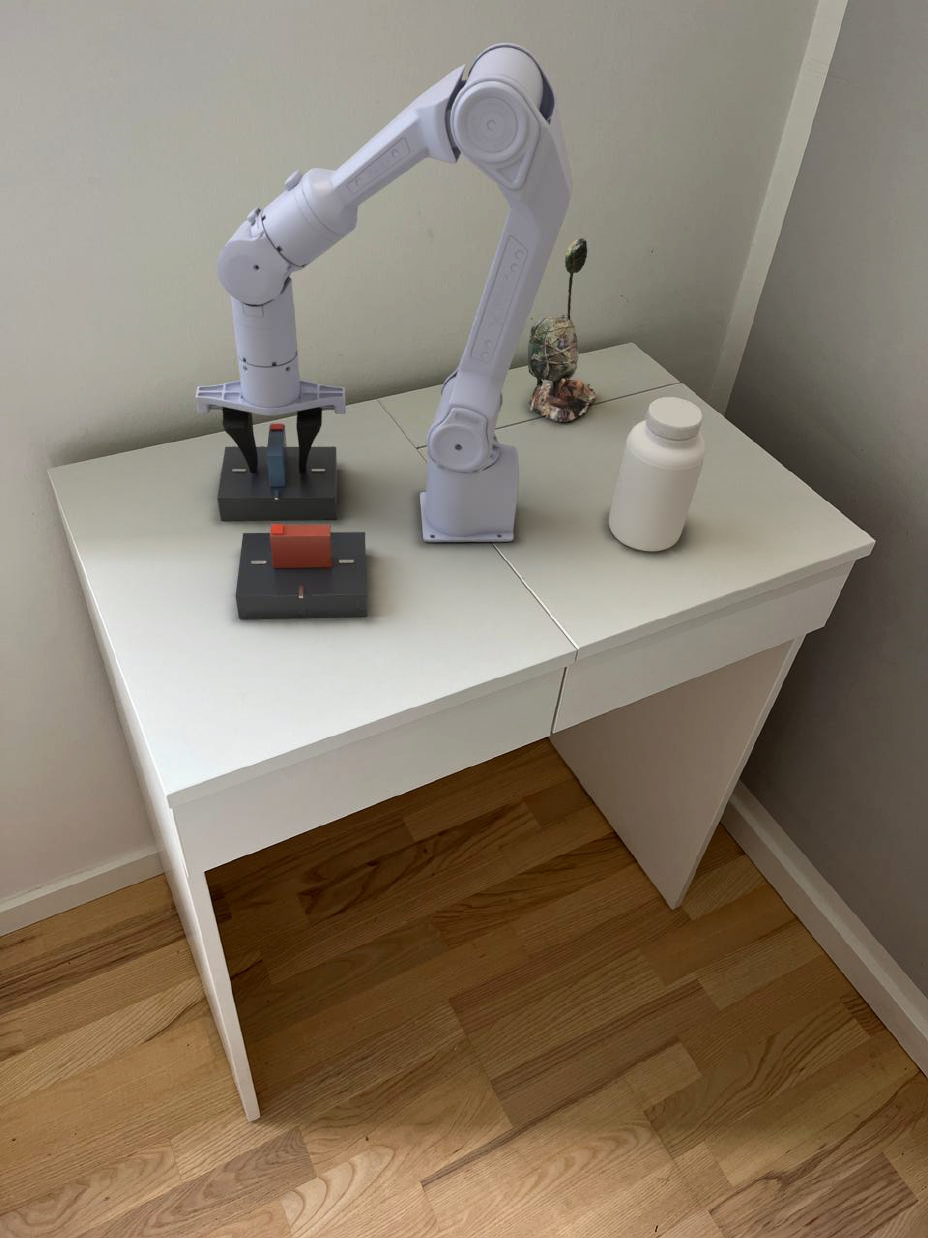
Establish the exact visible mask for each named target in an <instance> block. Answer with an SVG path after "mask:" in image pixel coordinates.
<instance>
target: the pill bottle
mask: <svg viewBox="0 0 928 1238" xmlns="http://www.w3.org/2000/svg"><path fill="white" fill-rule="evenodd" d="M703 417H704V416H703V412H702V411H701V409H700V408H699V407H698V406H697V405H695V404H694V403H693V402H691V401H689V400H687V399H684V398H680V397H676V396H663V397H659V398H656V399H654V400H653V401H652V402H651V403H650V404H649V405H648V407H647V411H646V416H645V419H644V420H642V421H640V422H638V423H637V424H636V425H634V426H633V428H632V429H631V430H630V432H629V433H628V435H627V438H626V441H625V446H624V450H623V455H622V459H621V462H620V467H619V471H618V475H617V480H616V485H615V488H614V491H613V492H614V493H613V497H612V502H611V506H610V510H609V514H608V526H609V529H610V530H609V531H610V532H611V533H612V535H613V536H614V537H615V539H617V540H618V541H619V542H620V543H622V544H623V545H625V546H626V547H630V548H632V549H635V550H638V551H644V552H660V551H664V550H667V549H669V548H671V547H673V546H674V545H675V544H676V543H677V542H678V541H679V540H680V537H681V535H682V533H683V530H684V527H685V524H686V520H687V517H688V514H689V510H690V507H691V504H692V501H693V498H694V495H695V492H696V489H697V485H698V483H699V478H700V476H701V472H702V469H703V465H704V462H705V459H706V455H707V447H706V442H705V440H704V437H703V436H702V434H701V433H700V430H701V426H702V423H703V419H704V418H703Z"/></svg>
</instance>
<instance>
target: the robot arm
mask: <svg viewBox="0 0 928 1238" xmlns="http://www.w3.org/2000/svg"><path fill="white" fill-rule="evenodd" d="M466 67H467V63H465V64H463V65H460V66H459V67H457V68H456V69H453V71H452V70H451V72H450V73H448V74H446V75H445V76H444V77H443V78H441V79H440V80H439V81H437V82H435V84H433V85H431V87H429V88H428V89H427V90H426V91H424V92H423V93H421V94H420V95H419V96H418V97H416V98H415V99H414V100H413V101H412V102H411V103H410V104H409V105H407V107H405V108H404V109H403V110H402V111H401V112H400V113H399V114H398V115H396V117H394V118H393V119H391V121H389V123H388V124H386V125H385V126H384V127H383V128H382V129H381V130H379V132H377V133H376V134H375V135H374V136H372V138H371V139H369V140H368V141H367V142H366V143H365V144H364V145H363V146H362V147H360V149H358V150H357V151H356V152H355V153H354V154H352V156H351V157H349V158H348V159H347V160H345V162H344V163H342V165H340V166H339V167H338V168H337V169H336V170H333V169H327V168H322V167H313V168H311V169H309V170H308V171H307V172H306V173H304V174H303V173H302V172H301V170H299V169H296V171H294V172H293V173H292V174H291V175H289V176H288V177H287V179H286V180H285V182H283V186H284V187H285V188H286V189H285V190H284V191H283V192H282V193H281V194H280V195H278V196H277V197H276V198H275V199H274V200H272V201H271V202H270V203H269V204H268V205H266V206H265V207H264V208H263V209H262V208H260V207H259V206H255V207H254V209H253V210H251V211H250V212H249V214H248V215H247V217H246V220H245V221H243V222H242V223H241V224H240V225H239V227H238V228H237V229H236V231H235V232H234V233H233V235H232V236H231V237H230V238H229V239H228V241H227V242H226V244H225V245H224V246H223V248H222V249H221V251H220V254H219V256H218V258H217V261H216V273H217V276H218V280H219V281H220V284H221V285H222V287H223V289H224V290H225V291H226V292H227V293H228V294H229V295H230V303H231V305H230V306H231V316H232V322H233V323H232V324H233V331H234V341H235V348H236V349H235V350H236V357H237V364H238V372H239V373H238V374H239V380H236V381H231V382H225V383H220V384H214V385H213V384H212V385H198V386H197V387H196V391H195V392H196V393H195V404H196V409H197V413H198V414H203V415H204V414H205V415H206V414H209V413H210V411H222V427H223V429H224V432H225V433H226V434H227V435H228V436H229V437H230V438H231V439H232V441H233V442H234V443H235V444H236V447H239V449H240V450H241V452H242V454H243V456H244V458H245V460H246V462H247V465H248V467H249V470H250V473H257V466H258V455H257V448H256V447H257V444H256V439H255V432H254V423H253V414H255V415H261V416H281V415H286V414H291V413H296V423H295V428H296V435H297V444H298V447H299V473H306V464H307V459H308V455H309V452H310V449H311V447H313V444H314V442H315V440H316V437H317V436H318V434H319V433H320V431H321V428H322V425H323V424H322V423H323V411H334V413H335V414H336V415H345V414H347V413H346V411H347V409H346V408H347V407H346V404H347V403H346V387H345V386H334V385H333V386H332V385H326V384H321V383H316V382H312V381H306V380H301V379H300V365H299V364H300V363H299V352H298V340H297V339H298V338H297V325H296V323H297V322H296V310H295V309H296V307H295V303H294V293H293V280H292V278H291V277H290V276H291V274H292V273H295V272H299V271H302V270H303V269H305V268H306V267H307V266H309V265H310V264H311V263H313V262H314V261H315V260H317V259H318V258H319V257H321V256H322V255H323V254H324V253H325V252H327V251H328V250H330V249H331V248H333V246H335V245H336V244H337V243H339V242H340V241H341V240H342V239H344V238H345V237H347V236H348V235H349V234H350V233H352V232H353V231H354V230H355V229H356V227H357V223H358V210H359V206H360V205H362V204H363V203H364V202H366V201H367V200H368V199H370V198H371V197H373V196H374V195H375V194H377V193H379V192H380V191H382V190H383V189H384V188H385V187H387V186H389V185H390V184H391V183H392V182H394V181H396V180H397V179H398V178H399V177H401V176H402V175H404V174H405V173H407V172H408V171H410V170H411V169H412V168H414V167H415V166H416V165H418V164H419V163H421V162H422V161H424V160H425V159H428V158H430V159H433V160H437V161H441V162H445V163H447V164H457V163H458V161H459V158H460V157H461V154H462V155H463V156H464V157H465V158H466V159H467V160H468V162H470V163H471V164H472V165H474V166H475V168H477V169H478V170H479V171H480V172H482V173H483V174H484V175H486V176H487V177H488V178H489V179H490V180H491V181H493V182H494V183H495V184H496V186H497V188H498V189H499V190H500V192H501V193H502V195H503V197H504V198H505V200H506V202H507V204H508V205H509V210H508V213H507V216H506V219H505V222H504V225H503V229H502V231H501V236H500V238H499V240H498V244H497V247H496V250H495V254H494V257H493V260H492V263H491V266H490V269H489V272H488V275H487V278H486V281H485V285H484V288H483V291H482V294H481V297H480V300H479V303H478V307H477V310H476V313H475V316H474V319H473V323H472V324H471V328H470V332H469V334H468V337H467V341H466V344H465V347H464V350H463V353H462V355H461V359H460V362H459V363H458V366H457V368H456V369H455V370H454V371H453V372H452V373H451V374H450V375H449V376H448V377H447V378H446V379H445V381H444V382H443V384H442V387H441V390H440V399H439V402H438V405H437V408H436V411H435V415H434V418H433V421H432V424H431V426H430V427H429V429H428V432H427V435H426V448H427V461H426V462H427V463H426V485H425V487H426V489H425V491H422V492H420V493H419V505H420V516H421V528H422V539H423V540H422V541H424V542H425V543H479V542H480V543H481V542H482V543H483V542H484V543H485V542H486V543H487V542H489V543H490V542H493V543H495V542H512V541H514V537H515V536H514V528H515V519H516V511H517V506H518V505H517V504H518V496H519V488H520V487H519V486H520V460H519V453H518V449H517V447H516V446H515V445H508V444H503V443H500V442H499V441H498V437H497V435H496V428H497V423H498V419H499V414H500V412H501V409H502V406H503V401H504V395H503V388H504V385H505V381H506V379H507V376H508V373H509V370H510V368H511V366H512V362H513V359H514V356H515V355H516V351H517V349H518V346H519V344H520V340H521V337H522V335H523V332H524V329H525V327H526V324H527V321H528V318H529V316H530V313H531V310H532V307H533V305H534V302H535V299H536V297H537V293H538V291H539V289H540V286H541V283H542V280H543V277H544V275H545V272H546V270H547V267H548V264H549V261H550V258H551V256H552V253H553V251H554V247H555V245H556V241H557V240H558V236H559V234H560V231H561V229H562V226H563V223H564V220H565V217H566V214H567V212H568V209H569V206H570V201H571V195H572V192H573V183H574V181H573V175H572V170H571V166H570V161H569V155H568V152H567V146H566V143H565V138H564V133H563V129H562V123H561V119H560V112H559V103H558V95H557V90H556V88H555V86H554V85H553V83H552V82H551V80H550V78H549V76H548V74H547V73H546V71H545V70H544V68H543V67H542V65H541V64H540V62H539V60H538V59H537V58H536V56H535V55H534V54H533V53H532V52H531V51H530V50H529V49H527V48H525V47H524V46H521V45H520V44H517V43H513V42H500V43H495V44H492V45H490V46H488V47H487V48H485V49H483V51H481V52H480V53H479V54H478V56H476V57H475V59H474V61H473V62H472V64H471V66H470V68H469V71H468V73H467V78H466V79H463V76H464V72H465V69H466Z"/></svg>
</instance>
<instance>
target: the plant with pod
mask: <svg viewBox="0 0 928 1238" xmlns="http://www.w3.org/2000/svg"><path fill="white" fill-rule="evenodd" d="M587 243H588V242H587V240H586V239H585V238H583V237H578V238H577V239H576V240H574V241H573V242H572V243H571V244H570V245H569V246H568V248H567V249H566V252H565V257H564V264H565V266H564V268H566V269H565V270H566V272H567V273H569V278H568V295H567V314H566V315H565V314H562V315H557V316H548V317H545V318H541V319H539V320H538V321H536V322H534V323H533V324H532V327H531V328H530V335H529V341H528V344H527V368H528V373H529V374H530V375H531V376H532V377H533V378H536V386H535V388H534V389H533V392H532V396H531V395H530V397H529V398H530V399H529V402H528V404H529V406H530V407H529V411H535V412H537V413H538V414H540V415H541V416H545V419H546V418H547V419H551V420H552V421H555V422H559V423H562V422H565V423H566V422H571V421H573V420H575V419H576V418H578V417H580V416H582V415H583V413H587V410H588V409H587V408H588V407H590V405H589V404H591V403H593V402H594V401H593V399H595V398H597V396H596V392H595V391H594V389H593V388H591V387H590V386H591V383H588V384H585V383H584V382H583V380H582V379H579V378H576V379H572V378H573V377H574V375H575V373H576V371H577V368H578V362H579V361H578V360H579V354H580V352H579V343H578V337H577V331H576V325H575V323H574V322H573V321H572V320H571V309H572V307H571V303H572V287H573V282H574V281H573V278H574V274H578V273H579V272H580V271H581V270H582V269H583V267H584V266H585V264H586V260H587V258H588V244H587ZM530 321H533V317H530ZM543 381H548V383H544V382H543Z"/></svg>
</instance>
